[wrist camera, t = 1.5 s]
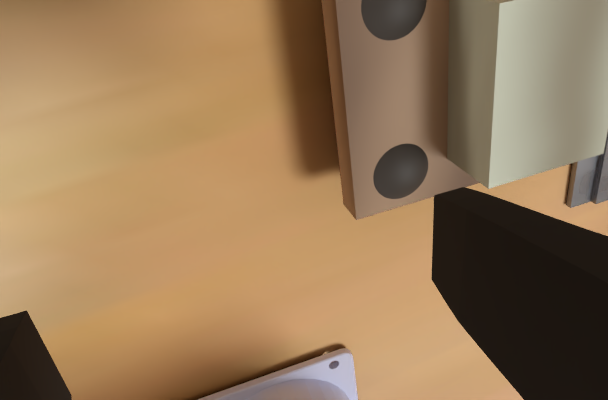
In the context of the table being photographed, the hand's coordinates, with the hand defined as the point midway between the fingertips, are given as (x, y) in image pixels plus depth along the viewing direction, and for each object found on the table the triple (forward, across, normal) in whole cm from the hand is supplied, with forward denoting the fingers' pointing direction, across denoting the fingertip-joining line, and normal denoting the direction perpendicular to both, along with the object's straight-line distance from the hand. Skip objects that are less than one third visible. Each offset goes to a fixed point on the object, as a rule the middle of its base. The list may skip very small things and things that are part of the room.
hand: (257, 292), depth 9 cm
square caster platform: (+10, -10, 0) cm, 14 cm away
